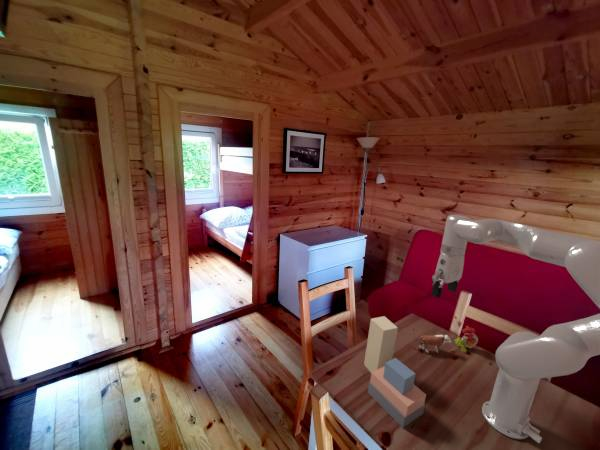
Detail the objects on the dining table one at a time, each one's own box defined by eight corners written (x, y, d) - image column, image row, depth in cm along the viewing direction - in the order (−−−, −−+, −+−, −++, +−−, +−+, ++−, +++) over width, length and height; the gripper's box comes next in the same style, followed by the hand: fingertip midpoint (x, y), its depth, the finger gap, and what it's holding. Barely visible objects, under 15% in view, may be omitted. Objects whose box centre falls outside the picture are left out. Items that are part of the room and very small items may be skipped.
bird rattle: (463, 347, 127) (448, 340, 125) (476, 327, 125) (462, 321, 123) (473, 356, 121) (458, 350, 119) (487, 336, 119) (472, 329, 117)
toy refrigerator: (391, 375, 105) (399, 327, 100) (376, 379, 102) (383, 330, 97) (378, 360, 112) (385, 315, 107) (363, 364, 109) (370, 318, 104)
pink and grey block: (422, 413, 89) (427, 394, 87) (402, 428, 84) (406, 407, 82) (387, 381, 101) (390, 363, 99) (367, 392, 96) (370, 373, 94)
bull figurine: (450, 354, 118) (454, 338, 116) (419, 352, 118) (422, 336, 116) (445, 348, 122) (448, 332, 120) (415, 346, 122) (418, 330, 120)
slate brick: (412, 389, 89) (415, 373, 87) (402, 395, 86) (405, 379, 85) (393, 372, 95) (395, 357, 94) (383, 377, 93) (385, 362, 91)
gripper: (449, 256, 89) (439, 303, 93) (476, 250, 98) (466, 293, 102) (428, 249, 95) (420, 293, 99) (455, 243, 104) (447, 284, 108)
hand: (443, 293), depth 101 cm, fingers open, 9 cm apart
